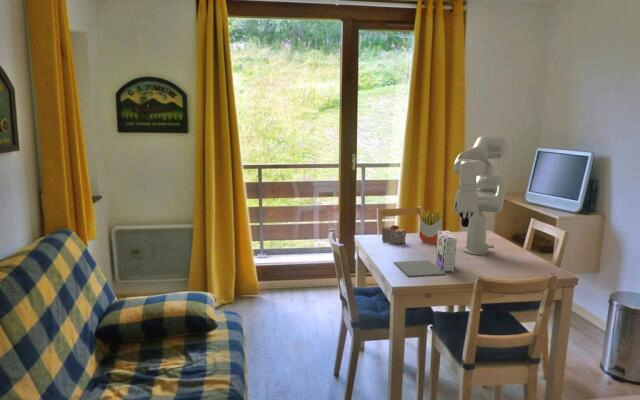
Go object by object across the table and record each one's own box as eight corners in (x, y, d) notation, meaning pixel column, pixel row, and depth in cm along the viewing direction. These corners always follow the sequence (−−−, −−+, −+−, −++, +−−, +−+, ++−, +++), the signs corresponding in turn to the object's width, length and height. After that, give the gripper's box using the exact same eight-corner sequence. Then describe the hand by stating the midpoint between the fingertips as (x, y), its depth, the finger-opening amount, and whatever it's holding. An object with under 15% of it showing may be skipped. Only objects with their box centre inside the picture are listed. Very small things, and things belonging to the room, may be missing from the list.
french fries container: (437, 244, 267) (438, 213, 263) (418, 241, 273) (420, 210, 269) (440, 243, 270) (441, 211, 267) (422, 240, 276) (423, 209, 273)
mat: (428, 261, 237) (428, 260, 237) (445, 274, 218) (445, 273, 218) (393, 263, 234) (393, 261, 234) (407, 276, 215) (407, 275, 215)
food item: (408, 243, 269) (408, 226, 268) (399, 246, 264) (400, 228, 262) (388, 238, 279) (388, 222, 277) (379, 241, 273) (380, 224, 271)
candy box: (435, 262, 235) (437, 230, 232) (447, 263, 235) (449, 230, 232) (442, 272, 221) (444, 237, 218) (455, 272, 221) (457, 237, 218)
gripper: (478, 186, 227) (475, 224, 230) (448, 186, 225) (446, 225, 228) (486, 188, 220) (483, 227, 223) (455, 189, 218) (453, 228, 221)
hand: (464, 226), depth 226 cm, fingers closed
